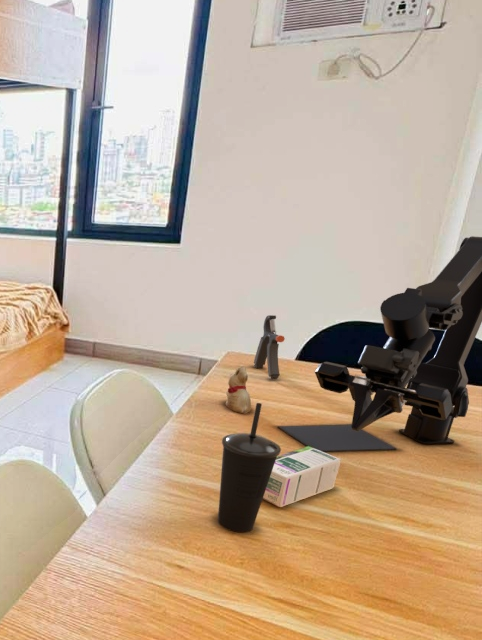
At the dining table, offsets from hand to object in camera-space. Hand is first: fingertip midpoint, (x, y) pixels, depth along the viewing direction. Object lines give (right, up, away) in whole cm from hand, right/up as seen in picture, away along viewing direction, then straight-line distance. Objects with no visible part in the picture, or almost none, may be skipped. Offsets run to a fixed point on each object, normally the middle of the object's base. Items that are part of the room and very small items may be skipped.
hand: (354, 429), depth 105 cm
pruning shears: (+21, +11, +60) cm, 64 cm away
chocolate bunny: (+1, +3, +38) cm, 38 cm away
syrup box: (-3, -7, +4) cm, 8 cm away
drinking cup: (-24, -14, -8) cm, 29 cm away
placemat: (+12, -3, +21) cm, 25 cm away
